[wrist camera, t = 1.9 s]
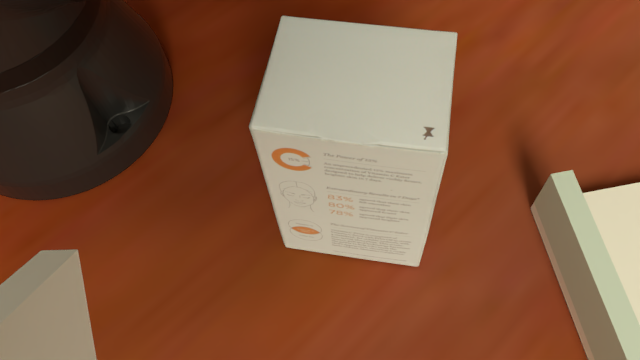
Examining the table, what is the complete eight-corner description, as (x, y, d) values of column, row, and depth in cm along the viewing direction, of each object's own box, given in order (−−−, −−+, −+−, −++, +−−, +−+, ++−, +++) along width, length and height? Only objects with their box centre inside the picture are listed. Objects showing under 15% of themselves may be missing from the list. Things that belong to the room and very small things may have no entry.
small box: (430, 172, 38) (462, 29, 26) (419, 269, 35) (450, 156, 23) (302, 156, 39) (278, 10, 27) (281, 248, 36) (245, 130, 24)
